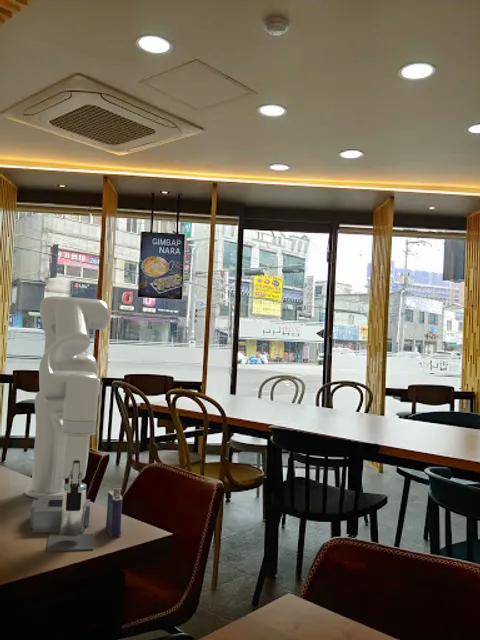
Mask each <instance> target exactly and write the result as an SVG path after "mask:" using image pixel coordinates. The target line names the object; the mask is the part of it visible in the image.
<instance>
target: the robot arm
mask: <svg viewBox="0 0 480 640" xmlns="http://www.w3.org/2000/svg"><path fill="white" fill-rule="evenodd" d="M39 316H40V321H41V325H42V329H43V332H44V336H45V337H44V338H45V339H44V341H45V342H44V353H43V354H42V356H41V360H40V362H39V368H38V375H39V376H38V384H39V391H37V393H36V394H35V397H34V414H35V431H34V432H35V433H34V435H35V436H34V447H33V458H32V459H33V460H32V462H33V463H32V475H31V486H29V487H27V488H25V492H24V494H25V495H26V496H28V497H30V498H33V499H34V498H35V499H38V498H39V496H63V490H64V484H66V479H68V483H69V486H68V492H67V498H66V511H80V509H81V495H82V492H81V483H82V480H84V479H85V477H86V473H87V468H88V460H89V452H90V442H91V441H90V439H91V436H94V435H96V430H97V418H98V404H99V403H98V402H99V395H100V392H101V380H100V378H99V377H98V362H97V359H96V358H95V356H93V355H92V354H88V353H85V352H86V351H87V350H89V347H90V345H91V338H90V330H101V331H103V330H105V329H106V328H107V327H108V325H109V323H110V309H109V306H108V304H107V302H105V301H104V300H102V299H97V298H96V299H95V298H87V297H86V298H85V297H84V298H83V297H72V296H70V297H69V296H59V295H58V296H56V295H55V296H47V297H44V298H43V299H42V300H41V302H40V306H39ZM61 421H62V422H61ZM78 488H79V489H78ZM70 491H71V492H70Z"/></svg>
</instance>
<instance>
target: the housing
mask: <svg viewBox="0 0 480 640" xmlns="http://www.w3.org/2000/svg"><path fill="white" fill-rule="evenodd" d="M62 503H63V496H39V498H37V499H33V501H32V504H31V508H30V515H29V516H30V517H29V519H30V520H29V528H30V529H32V533H34V534H36V533H37V534H39V533H42V534H43V533H44V534H45V533H60V527H61V515H62ZM90 509H91V499H87V496H86V497H85V510H84V522H83V533H84V532H85V529H86V527H89V525H90V514H91V513H90V512H91V511H90Z"/></svg>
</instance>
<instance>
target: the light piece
mask: <svg viewBox="0 0 480 640" xmlns="http://www.w3.org/2000/svg"><path fill="white" fill-rule="evenodd" d="M68 486H69V482H67V483H66V482H65V484H64V490H63V503H62V515H61V527H60V532H59V535H63V536H78V535H81V534H84V532H83V522H84V510H85V497H86V498H87V484H86V483H84V482H81V492H82V495H81V509H80V511H66V498H67V492H68ZM78 489H79V488H78ZM70 492H71V491H70Z"/></svg>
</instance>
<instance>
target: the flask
mask: <svg viewBox="0 0 480 640" xmlns="http://www.w3.org/2000/svg"><path fill="white" fill-rule="evenodd" d="M120 490H122V488H121V487H120V488H118V487H116V488H114V487H113V488H112V490H109V491H108V492H107V505H106V506H107V507H106V509H107V510H106V520H105V521H106V523H105V529H106V530H107V533H109V537H110V538H112V539H118V538H120V537H121V536H122V526H121V525H122V514H123V513H122V512H123V511H122V510H123V509H122V508H123V496H122V495H121V492H120Z"/></svg>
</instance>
